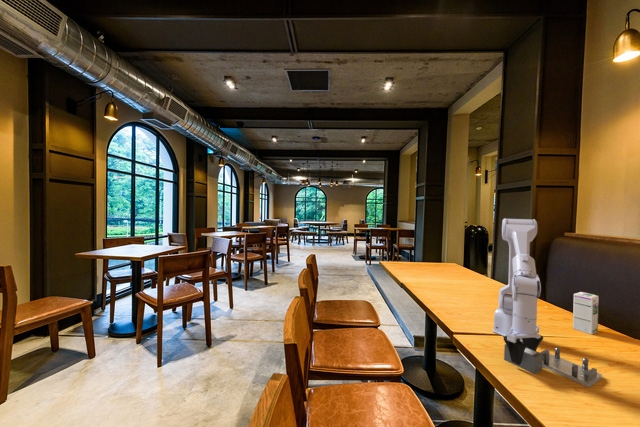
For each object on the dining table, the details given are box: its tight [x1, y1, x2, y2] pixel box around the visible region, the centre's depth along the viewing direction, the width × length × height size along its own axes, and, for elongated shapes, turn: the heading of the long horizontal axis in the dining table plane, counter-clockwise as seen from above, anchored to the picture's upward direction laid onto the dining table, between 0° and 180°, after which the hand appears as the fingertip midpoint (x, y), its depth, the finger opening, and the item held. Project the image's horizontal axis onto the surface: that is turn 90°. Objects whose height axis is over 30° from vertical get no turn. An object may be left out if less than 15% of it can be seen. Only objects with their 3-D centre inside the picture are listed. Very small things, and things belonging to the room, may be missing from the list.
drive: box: [503, 343, 543, 375], centre depth 79 cm, size 8×4×5 cm, turn 29°
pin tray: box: [539, 346, 603, 388], centre depth 77 cm, size 13×9×4 cm
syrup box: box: [572, 291, 600, 335], centre depth 104 cm, size 6×6×14 cm
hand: (522, 359), depth 79 cm, fingers open, 7 cm apart
